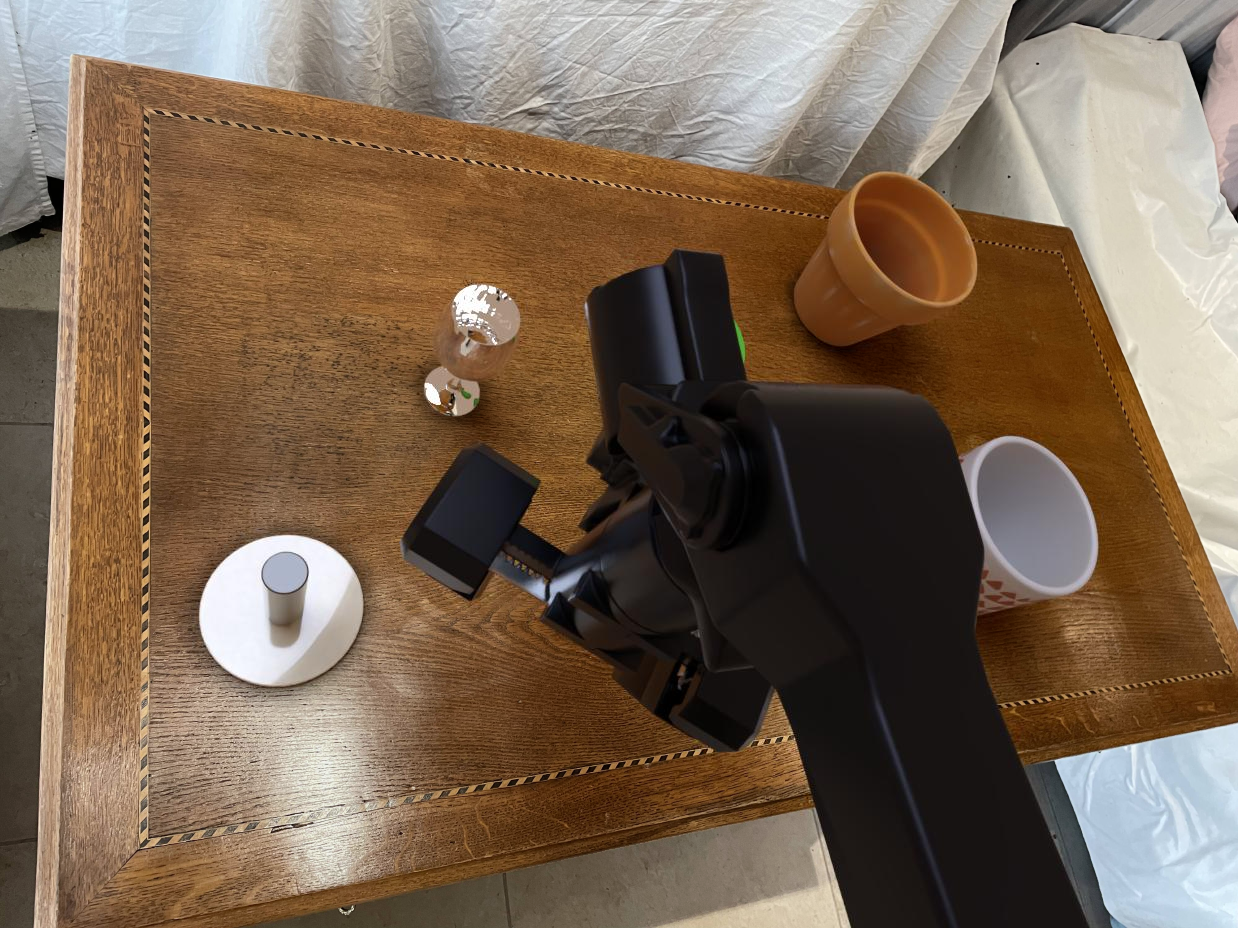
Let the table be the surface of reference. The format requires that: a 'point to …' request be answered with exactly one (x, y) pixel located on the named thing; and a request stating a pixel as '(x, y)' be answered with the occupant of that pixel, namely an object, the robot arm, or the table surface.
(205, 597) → the pole on white disc
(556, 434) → the table surface
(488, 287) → the wineglass
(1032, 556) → the planter
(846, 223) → the flower pot
